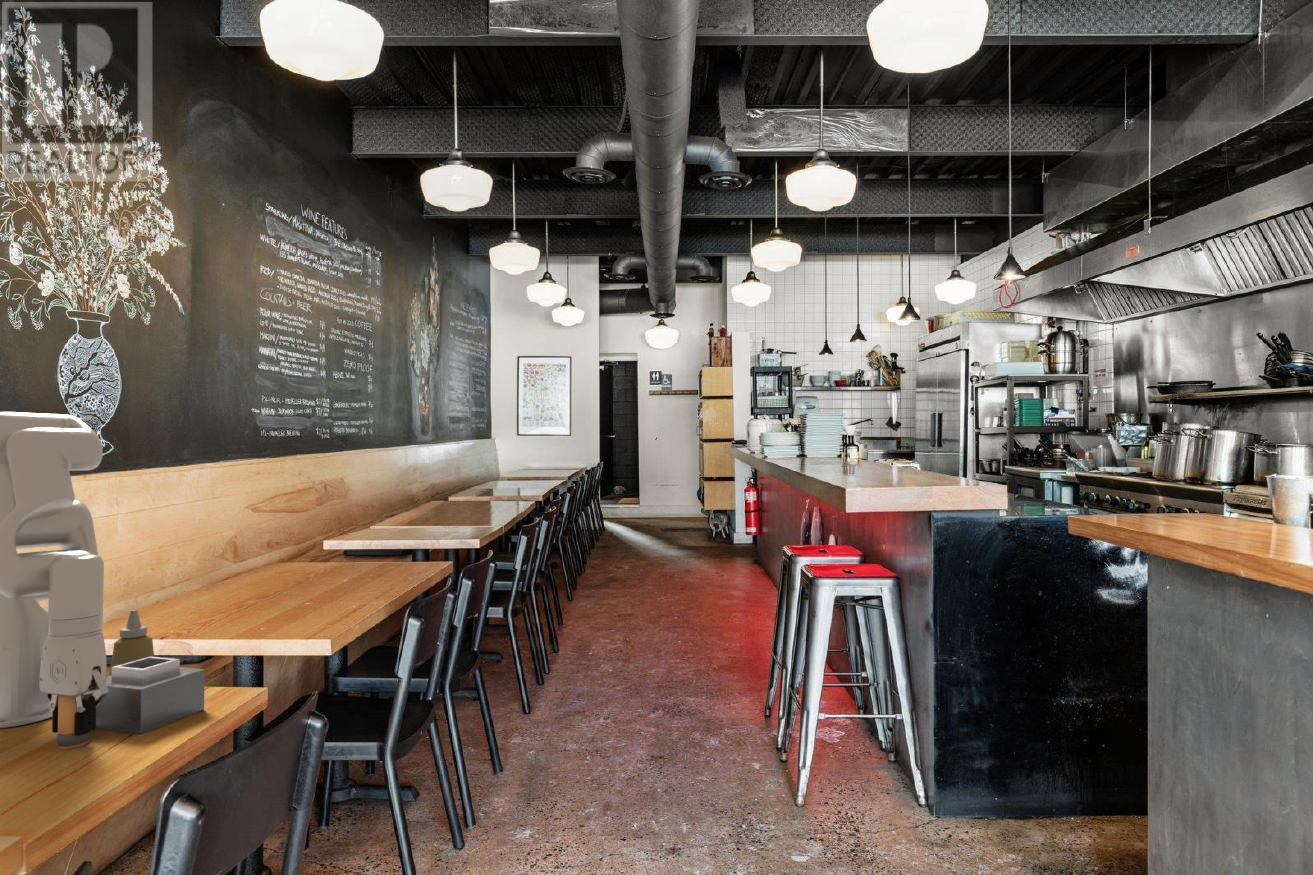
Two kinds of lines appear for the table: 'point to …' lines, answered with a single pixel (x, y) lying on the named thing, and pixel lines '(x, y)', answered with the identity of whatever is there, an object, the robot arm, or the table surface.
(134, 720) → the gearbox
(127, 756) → the table surface
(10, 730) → the table surface
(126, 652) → the squeeze bottle
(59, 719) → the orange cylinder
